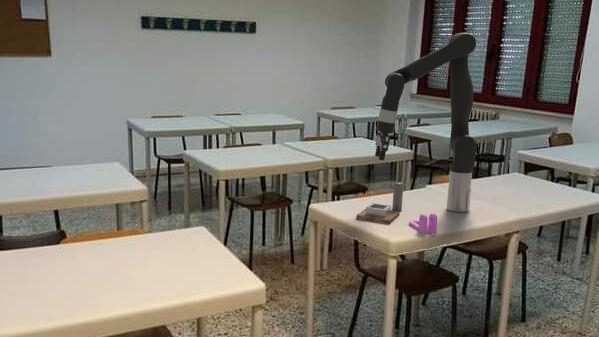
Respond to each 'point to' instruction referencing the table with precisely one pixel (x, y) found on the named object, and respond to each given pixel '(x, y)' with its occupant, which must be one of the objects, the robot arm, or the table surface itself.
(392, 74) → the robot arm
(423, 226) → the bracket
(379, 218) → the socket board
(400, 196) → the peg
